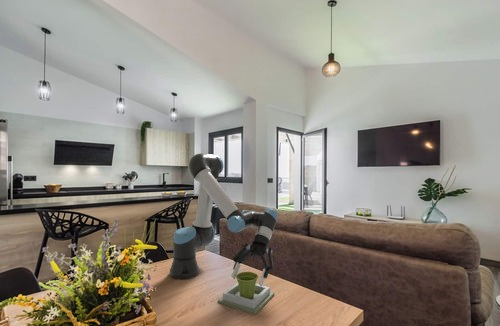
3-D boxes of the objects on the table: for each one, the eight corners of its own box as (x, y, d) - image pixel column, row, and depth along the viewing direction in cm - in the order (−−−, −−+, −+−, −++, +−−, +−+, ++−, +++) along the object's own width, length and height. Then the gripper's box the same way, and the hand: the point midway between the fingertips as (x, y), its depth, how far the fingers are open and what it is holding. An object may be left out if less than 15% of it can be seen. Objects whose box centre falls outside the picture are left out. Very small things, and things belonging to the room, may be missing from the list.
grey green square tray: (217, 302, 108) (217, 294, 108) (240, 285, 124) (240, 278, 124) (255, 314, 99) (255, 305, 99) (274, 294, 115) (274, 286, 115)
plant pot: (255, 302, 106) (256, 281, 106) (233, 300, 108) (233, 279, 108) (259, 291, 115) (259, 272, 116) (238, 290, 117) (238, 270, 117)
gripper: (288, 246, 120) (275, 292, 107) (243, 238, 132) (226, 278, 119) (284, 237, 116) (269, 284, 102) (237, 230, 128) (219, 271, 115)
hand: (246, 281), depth 111 cm, fingers open, 13 cm apart
